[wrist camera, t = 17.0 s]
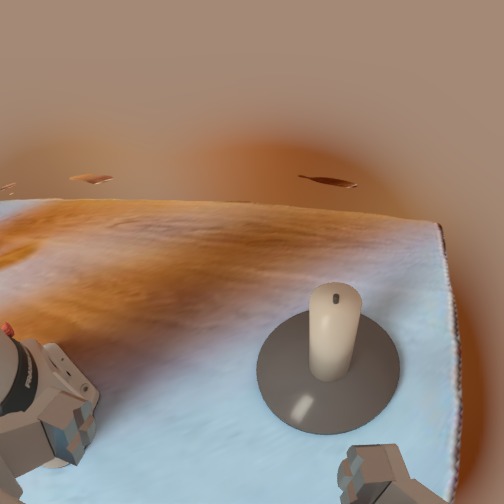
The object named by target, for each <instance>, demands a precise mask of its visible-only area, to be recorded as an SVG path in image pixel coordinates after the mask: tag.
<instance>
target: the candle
mask: <svg viewBox="0 0 504 504" xmlns="http://www.w3.org/2000/svg"><path fill="white" fill-rule="evenodd" d="M361 307H362V299H361V296H360V294H359V293H358V292H357V291H356V290H355V289H354V288H353V287H351V286H349V285H347V284H344V283H339V282H332V283H327V284H323V285H321V286H319V287H318V288H316V289H315V290H314V291H313V293H312V294H311V296H310V300H309V367H310V371H311V373H312V374H313V375H314V376H315V377H316V378H317V379H319V380H321V381H325V382H333V381H337V380H339V379H341V378H342V377H344V376H345V375H346V373H347V372H348V369H349V366H350V361H351V357H352V352H353V348H354V343H355V338H356V333H357V328H358V323H359V318H360V312H361Z"/></svg>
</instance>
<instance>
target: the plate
mask: <svg viewBox="0 0 504 504" xmlns="http://www.w3.org/2000/svg"><path fill="white" fill-rule="evenodd" d="M256 371H257V381H258V385H259V389H260V392H261V394H262V397H263V399H264V401H265V403H266V404H267V406H268V407H269V408H270V410H271V411H272V412H273V413H274V414H275V415H276V416H277V417H278V418H279V419H280V420H282V421H283V422H285V423H286V424H288V425H289V426H291V427H293V428H296V429H298V430H301V431H304V432H307V433H312V434H319V435H333V434H341V433H346V432H349V431H352V430H355V429H357V428H359V427H361V426H363V425H365V424H367V423H368V422H370V421H371V420H373V419H374V418H375V417H376V416H377V415H379V414H380V413H381V412H382V410H383V409H384V408H385V407H386V406H387V404H388V402H389V401H390V399H391V397H392V396H393V394H394V392H395V389H396V387H397V384H398V380H399V373H400V363H399V357H398V353H397V350H396V347H395V345H394V343H393V341H392V339H391V338H390V337H389V335H388V334H387V333H386V331H385V330H384V329H383V328H382V327H381V326H379V325H378V324H377V323H376V322H374V321H373V320H371V319H370V318H368V317H366V316H364V315H362V314H360V318H359V323H358V328H357V333H356V338H355V343H354V348H353V352H352V357H351V361H350V366H349V369H348V372H347V373H346V375H345V376H344V377H342V378H341V379H339V380H337V381H333V382H325V381H321V380H319V379H317V378H316V377H315V376H314V375H313V374H312V373H311V371H310V367H309V311H306V312H303V313H300V314H297V315H295V316H293V317H291V318H289V319H288V320H286V321H284V322H283V323H282V324H280V325H279V326H278V327H277V328H276V329H275V330H274V331H273V332H272V333H271V334H270V335H269V336H268V338H267V339H266V341H265V342H264V344H263V346H262V348H261V350H260V353H259V356H258V361H257V369H256Z"/></svg>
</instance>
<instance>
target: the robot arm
mask: <svg viewBox="0 0 504 504" xmlns="http://www.w3.org/2000/svg"><path fill="white" fill-rule="evenodd" d="M12 336H14V331H13V329H12V327H11V326H10V325H9V324H8V323H7V322H6V323H5V324H4V325H3V326H2V327H1V328H0V504H25V503H23V502H21V501H20V500H19V498H20V497H21V495H22V493H23V490H22V488H21V487H20V485H19V484H18V482H17V481H16V479H15V478H17V477H19V476H21V475H23V474H25V473H27V472H29V471H31V470H33V469H35V468H37V467H39V466H43V467H46V468H59V467H63V466H65V465H68V464H69V463H70V464H73V465H75V466H77V465H78V463H79V462H80V460H81V458H82V457H83V455H84V453H85V451H84V448H85V446H86V445H89V444H90V443H91V442H92V440H93V438H94V435H95V431H96V422H95V419H94V417H93V416H92V415H93V410H94V408H95V406H96V404H97V401H98V399H99V391H98V390H97V389H96V388H95V387H94V385H93V384H92V383H91V382H90V381H89V380H88V379H87V378H86V377H85V376H84V374H83V373H82V372H81V371H80V370H79V369H78V368H77V367H76V365H75V364H74V363H73V362H72V361H71V360H70V358H69V357H68V356H67V355H66V354H65V352H64V351H63V350H62V349H61V348H60V346H58V345H57V344H56V343H49V344H46V345H43V346H42V345H41V344H40V343H39V342H38V341H37V340H36V339H26V340H23V341H21V342H18V341H16V340H15V339H13V338H12ZM87 389H88V390H87ZM86 390H87V391H86ZM347 457H348V458H346V459H345V460H343V461H342V462H341V464H340V466H339V469H338V474H337V482H338V487H339V488H340V489H341V490H342V491H344V492H343V493H342V495H341V496H340V501H341V504H449V503H448V502H446V501H445V500H443V499H442V498H440V497H439V496H438V495H436V494H435V493H433V492H432V491H431V490H429V489H428V488H427V487H425V486H424V485H422V484H421V483H420V482H418V481H417V480H416V479H410V476H409V473H408V471H407V468H406V466H405V463H404V461H403V458H402V456H401V453H400V451H399V448H398V446H397V445H396V444H381V445H380V444H376V445H352V446H351V447H350V448H349V449H348V451H347Z"/></svg>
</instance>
